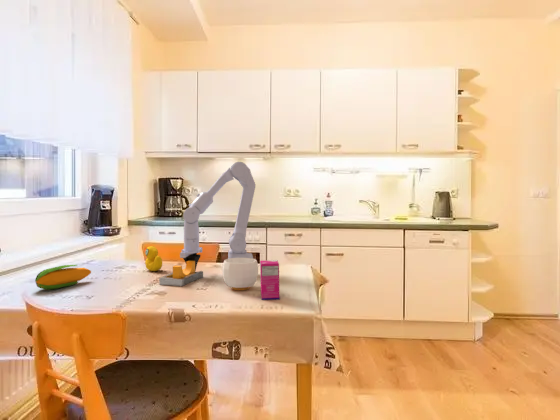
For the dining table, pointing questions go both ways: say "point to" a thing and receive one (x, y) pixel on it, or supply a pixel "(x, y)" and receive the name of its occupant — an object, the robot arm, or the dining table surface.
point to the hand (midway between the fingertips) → (191, 273)
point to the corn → (60, 277)
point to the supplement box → (269, 279)
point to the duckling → (153, 259)
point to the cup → (240, 272)
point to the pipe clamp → (184, 270)
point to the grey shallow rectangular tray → (177, 281)
